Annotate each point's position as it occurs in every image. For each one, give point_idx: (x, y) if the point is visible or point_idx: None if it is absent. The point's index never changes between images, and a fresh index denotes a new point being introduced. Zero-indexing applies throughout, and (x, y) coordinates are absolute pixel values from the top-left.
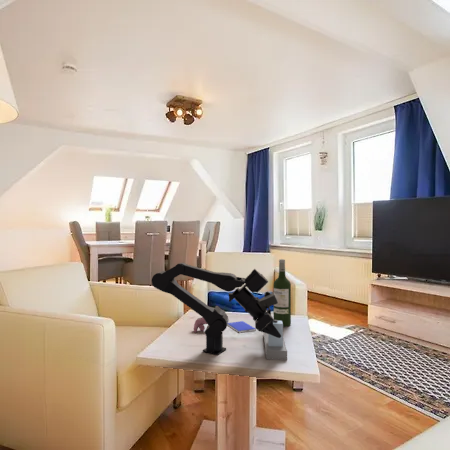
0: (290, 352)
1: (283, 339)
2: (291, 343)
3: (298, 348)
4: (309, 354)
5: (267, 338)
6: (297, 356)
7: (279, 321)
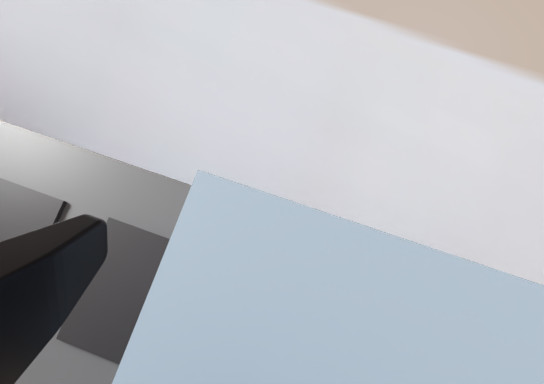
0: (323, 188)
1: (159, 178)
2: (107, 78)
3: (246, 73)
4: (409, 46)
5: (54, 365)
6: (435, 168)
7: (271, 295)
